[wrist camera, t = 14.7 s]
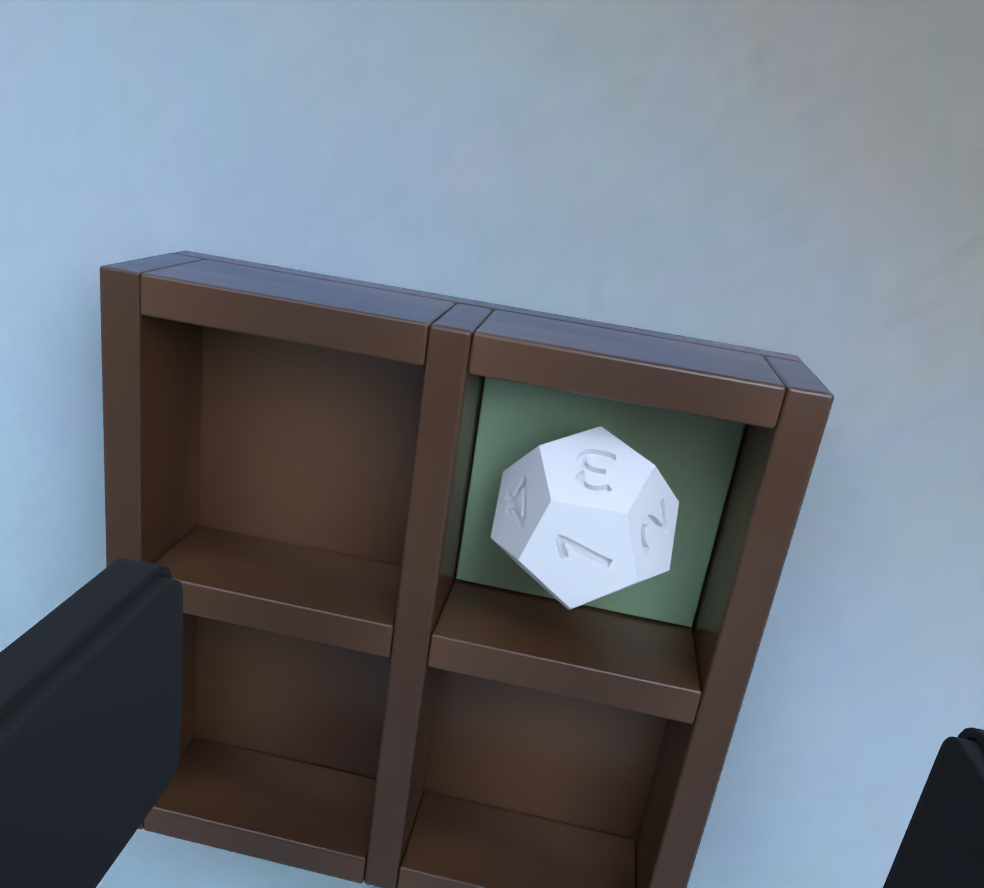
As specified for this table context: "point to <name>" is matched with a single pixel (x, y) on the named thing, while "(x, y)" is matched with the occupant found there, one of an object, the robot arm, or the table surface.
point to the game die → (586, 517)
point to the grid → (436, 572)
